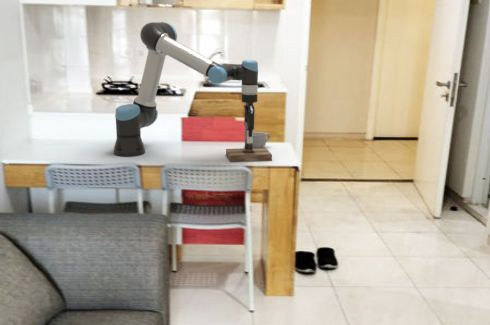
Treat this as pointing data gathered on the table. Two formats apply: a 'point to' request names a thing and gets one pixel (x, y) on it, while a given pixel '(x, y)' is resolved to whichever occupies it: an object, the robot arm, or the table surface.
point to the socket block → (248, 155)
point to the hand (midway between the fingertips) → (248, 142)
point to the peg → (247, 145)
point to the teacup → (260, 139)
